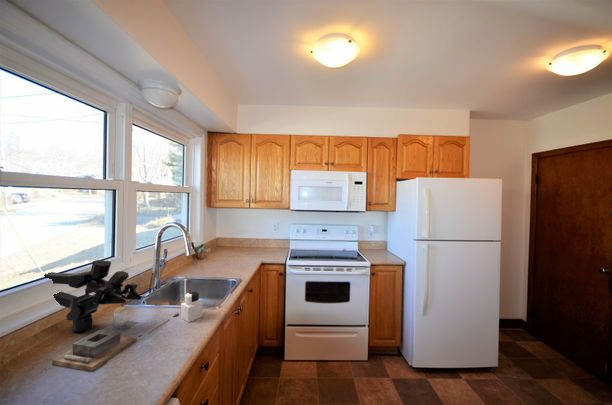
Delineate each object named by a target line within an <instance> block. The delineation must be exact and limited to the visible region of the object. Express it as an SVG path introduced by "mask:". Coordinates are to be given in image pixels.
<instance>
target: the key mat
mask: <svg viewBox="0 0 612 405" xmlns="http://www.w3.org/2000/svg"><path fill="white" fill-rule="evenodd" d="M139 323H140V321H134V320H133V321H132V320H131V321H130V320H126V326H124V327H122V328H120V329H117V328H114V323H112V324H111V325H109V326H107V327H105V328H103V329H102V330H107V331H114V332H120V334H121V333H123V332H126V330H129V329H131V328H132V327H133V326H136V325H137V324H139Z"/></svg>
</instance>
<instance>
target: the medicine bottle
mask: <svg viewBox="0 0 612 405" xmlns="http://www.w3.org/2000/svg"><path fill="white" fill-rule="evenodd" d="M199 295H200V294H199V292H198V291H190V292H187V293H186V294H185V295H184V302H183V303H180V319H182V320H184V321H186V322H187V323H190V322H191V323H192V322H193V321H196V320H198V319H201V318H203V302H201V301H200V300H199V298H200V296H199Z"/></svg>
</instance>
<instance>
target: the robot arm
mask: <svg viewBox="0 0 612 405" xmlns="http://www.w3.org/2000/svg"><path fill="white" fill-rule="evenodd" d="M111 265H112V262H111V261H110V260H99V259H96V260H93V261H92V264H91V269H90V270H89V271H88V270H87V271H81V272H77V273H67V272H65V273H64V272H55V271H50V272H51V273H50V272H47V273H48V274H46V273H44V274H45V275H44V276H45V277H46V278H49V279H52V281H53V284H54V285H55V284H56V285H57V284H58V285H68V287H70V288H73V289H80V288H84V287H85V288H84V292H85V294H82V295H79V296H76V295H73V294H70V293H67V292H63V291H61V292H59V293H57V294H54V295H53V296H54V298H55V300H56V301H57V302H58V303H59V304H60V305H59V306H62V307H65V308H68V309H69V312H68V313H66V320H67V321H71V322H72V329H71V330H69V331H68V333H69V334H70V333H72V334H77V335H78V334H79V335H80V334H81V335H82V334H83V333H85V332H87V331H89V330H92V329H93V328H95V327H96V325H93V314H94V313H96V312H98V308H99V306H100V305H101V306H102V305H112V304H113V305H114V304H115V305H116V304H125V303H126V302H127V300H132V301H133V300H138V301H139V300H142V298H143V297H142V296H141V294H140V293H139V292H138V291H137V288H138V284H136V283H135V282H134V283H127V284H126V285H124V282H125V281H126V280H127V279H128V278H129V277H130V274H129V272H126V271H124V270H122V271H119V270H118V271H116V272H115V273H114V274H113V275H112V276H111V277H109V279H108V280H106V279H105V278H106V277H108V275H109V272H110V268H111ZM123 286H124V288H123V289H122V287H123ZM93 293H95V294H94V295H91V294H93Z"/></svg>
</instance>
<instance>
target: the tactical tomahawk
mask: <svg viewBox="0 0 612 405" xmlns="http://www.w3.org/2000/svg"><path fill="white" fill-rule="evenodd" d="M179 315H180V313H176V314H174V315H173V316H172V318H177V317H179ZM170 320H171V319H167V320H165V321H164V322H163V323H161V324H160V325H158V326H157V327H155V328H154V329H152V330H150V331H149V332H148V333H146V335H148V334H151V333H152V332H154V331H155V330H158V329H159V328H160V327H161V326H163V325H165V324H167V323H168V322H169V321H170ZM141 337H142V334H140V335H138V336H137V338H141Z"/></svg>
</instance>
